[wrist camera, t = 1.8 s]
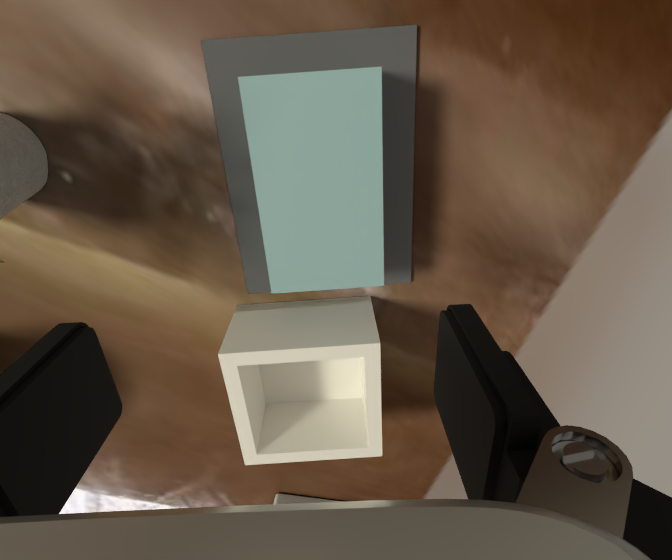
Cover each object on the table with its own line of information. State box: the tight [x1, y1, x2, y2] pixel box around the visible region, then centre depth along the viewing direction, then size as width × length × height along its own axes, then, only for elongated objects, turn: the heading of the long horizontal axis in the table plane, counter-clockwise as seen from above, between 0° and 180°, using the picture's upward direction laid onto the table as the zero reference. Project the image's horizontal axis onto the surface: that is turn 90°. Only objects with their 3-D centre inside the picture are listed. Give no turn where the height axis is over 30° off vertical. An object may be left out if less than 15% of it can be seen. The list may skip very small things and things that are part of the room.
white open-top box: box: [218, 296, 382, 465], centre depth 29 cm, size 10×10×6 cm
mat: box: [201, 25, 417, 294], centre depth 26 cm, size 16×12×1 cm
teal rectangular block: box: [238, 67, 384, 293], centre depth 24 cm, size 12×7×4 cm, turn 4°
